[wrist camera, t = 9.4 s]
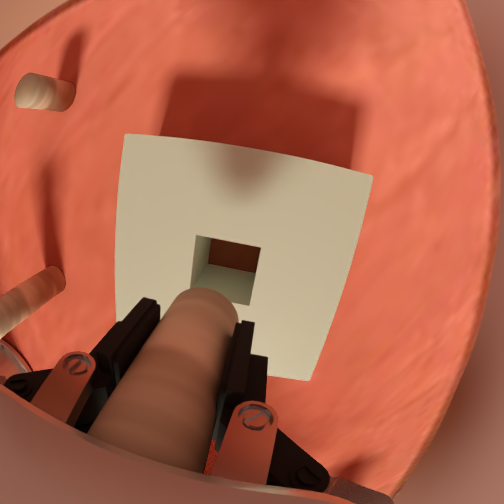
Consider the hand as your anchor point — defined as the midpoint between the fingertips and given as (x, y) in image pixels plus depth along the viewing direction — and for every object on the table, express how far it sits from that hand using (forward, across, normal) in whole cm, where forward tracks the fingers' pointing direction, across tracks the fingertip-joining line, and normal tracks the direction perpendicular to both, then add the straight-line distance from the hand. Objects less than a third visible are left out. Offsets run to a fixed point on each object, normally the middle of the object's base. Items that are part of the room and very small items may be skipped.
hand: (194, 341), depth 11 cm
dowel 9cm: (+2, 0, 0) cm, 2 cm away
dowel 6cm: (+14, +20, -12) cm, 27 cm away
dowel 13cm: (+14, +20, +8) cm, 26 cm away
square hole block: (+14, 0, 0) cm, 14 cm away
